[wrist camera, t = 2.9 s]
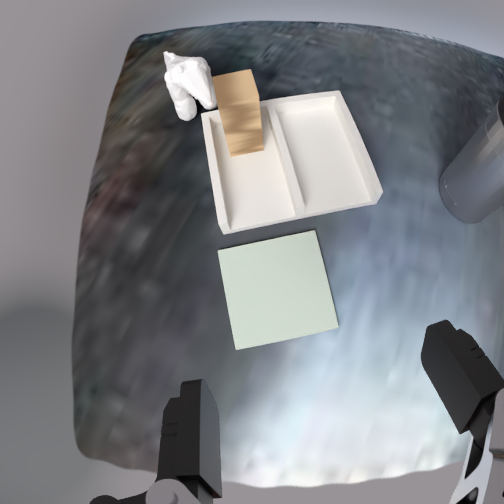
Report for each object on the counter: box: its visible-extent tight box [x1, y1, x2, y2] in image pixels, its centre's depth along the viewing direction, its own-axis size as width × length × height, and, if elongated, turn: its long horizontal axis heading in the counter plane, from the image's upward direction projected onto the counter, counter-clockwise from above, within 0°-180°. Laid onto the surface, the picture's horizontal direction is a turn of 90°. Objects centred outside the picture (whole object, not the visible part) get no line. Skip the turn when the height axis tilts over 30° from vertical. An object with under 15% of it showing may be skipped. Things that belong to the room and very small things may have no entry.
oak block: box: [212, 69, 264, 157], centre depth 38 cm, size 4×4×11 cm
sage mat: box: [218, 230, 339, 350], centre depth 38 cm, size 12×12×1 cm
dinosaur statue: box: [163, 52, 218, 121], centre depth 42 cm, size 7×24×11 cm, turn 29°
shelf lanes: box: [201, 91, 383, 234], centre depth 41 cm, size 20×17×4 cm
